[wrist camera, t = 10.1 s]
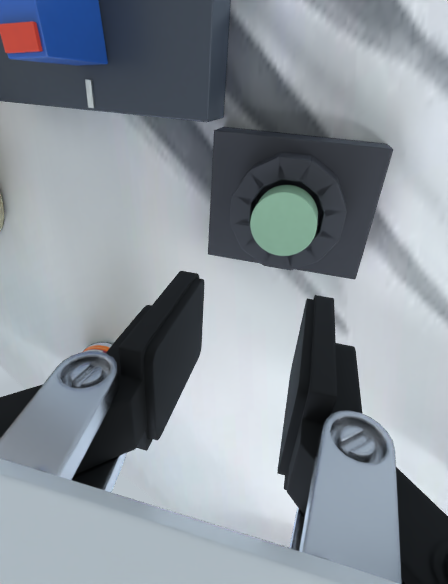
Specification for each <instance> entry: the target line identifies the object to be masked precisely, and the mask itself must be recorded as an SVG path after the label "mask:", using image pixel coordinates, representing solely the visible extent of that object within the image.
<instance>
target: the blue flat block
mask: <svg viewBox="0 0 448 584" xmlns="http://www.w3.org/2000/svg"><path fill="white" fill-rule="evenodd" d="M0 34H1V38H2V42H3V45H4V49H5V53H7V54H8V58H9V59H13V60H23V61H34V62H44V63H55V64H65V65H76V66H79V65H100V64H108V60H107V53H106V47H105V40H104V34H103V27H102V21H101V14H100V8H99V1H98V0H0Z"/></svg>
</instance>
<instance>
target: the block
mask: <svg viewBox="0 0 448 584" xmlns="http://www.w3.org/2000/svg"><path fill="white" fill-rule="evenodd" d="M392 152H393V149H392V148H391V147H390V146H389V145H388V144H384V143H374V142H365V141H355V140H345V139H336V138H326V137H316V136H307V135H297V134H287V133H278V132H268V131H258V130H249V129H239V128H229V127H222V128H220V129H217V130H214V145H213V164H212V184H211V204H210V224H209V244H208V254H209V255H215V256H221V257H227V258H232V259H238V260H244V261H250V262H256V263H261V264H262V265H264V266H269V267H275V268H281V269H287V270H293V269H297V270H303V271H309V272H314V273H320V274H326V275H332V276H338V277H344V278H350V279H356V275H357V272H358V268H359V265H360V262H361V258H362V255H363V251H364V248H365V244H366V241H367V238H368V234H369V231H370V227H371V224H372V220H373V217H374V214H375V210H376V207H377V203H378V200H379V196H380V193H381V190H382V186H383V183H384V179H385V176H386V172H387V169H388V166H389V162H390V159H391V155H392ZM280 185H294V186H297V187H300V188H302V189H304V190H305V191H307V192H308V193H309V194H310V195H311V197H312V198H313V199H314V201H315V203H316V206H317V210H318V221H317V230H316V234H315V236H314V238H313V240H312V242H311V243H310V244H309V245H308V246H307V247H306V248H305V249H304V250H302V251H301V252H299V253H296V254H293V255H289V256H278V255H274V254H271V253H269V252H267V251H265V250H264V249H262V248H261V247H260V246H259V245H258V244H257V242H256V241H255V239H254V237H253V235H252V233H251V227H250V220H251V215H252V212H253V210H254V208H255V207H256V205H257V203H258V202H259V200H260V199H261V197H262V196H263V195H264V194H265V193H266V192H267V191H268V190H270V189H272V188H274V187H276V186H280Z"/></svg>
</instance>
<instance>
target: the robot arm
mask: <svg viewBox="0 0 448 584" xmlns="http://www.w3.org/2000/svg"><path fill="white" fill-rule="evenodd" d="M203 301H204V280H203V279H199V275H198V274H196V273H191V272H185V271H180V272H179V273H178V274H177V275H176V277H175V278H174V279H173V280H172V282H171V283H170V284H169V285H168V286H167V288H166V289H165V290H164V291H163V293H162V294H161V295H160V296H159V298H158V299H157V300H156V301H155V302H154V304H153V305H152V306H151V305H146V306H145V307H144V308H143V309H142V310H141V312H140V313H139V314H138V315H137V316H136V317H135V319H134V320H133V321H132V322H131V323H130V325H129V326H128V327H127V328H126V329H125V330H124V332H123V333H122V334H121V335H120V336H119V338H118V339H117V340H116V341H115V342H114V344H113V345H112V346H111V347H110V348H109V349H108V351H107V352H106V353H103V352H98V351H88V352H82V353H78V354H76V355H73V356H71V357H69V358H67V359H66V360H64V361H63V362H62V363H61V364H60V365H58V366H57V368H56V369H55V370H54V371H53V373H52V374H51V375H50V377H49V378H48V379H47V380H46V382H45V383H44V384H43V385H40V386H36V387H33V388H30V389H26V390H23V391H20V392H17V393H13V394H10V395H7V396H3V397H0V584H448V516H447V515H446V514H445V513H444V512H443V511H442V510H440V509H439V508H438V507H437V506H436V505H435V504H434V503H433V502H432V501H431V500H430V499H429V498H428V497H427V496H426V495H425V494H424V493H423V492H422V491H421V490H420V489H419V488H417V487H416V486H415V485H414V484H413V483H412V482H411V481H410V480H409V479H408V478H407V477H406V476H405V475H404V474H403V473H402V472H401V471H400V470H399V469H398V468H397V467H396V460H395V448H394V444H393V440H392V439H391V437H390V435H389V434H388V432H387V431H386V430H385V429H384V428H383V427H382V426H381V425H380V424H379V423H378V422H376V421H375V420H374V419H372V418H371V417H369V416H366V415H364V414H362V406H361V397H360V388H359V378H358V369H357V360H356V351H355V348H354V347H353V346H348V345H343V344H338V343H335V314H334V299H333V298H328V297H323V296H317V295H315V296H314V300H312V299H307V300H306V304H305V309H304V313H303V318H302V322H301V327H300V332H299V336H298V341H297V345H296V350H295V354H294V359H293V363H292V368H291V374H290V380H289V388H288V395H287V403H286V411H285V418H284V426H283V434H282V441H281V449H280V456H279V464H278V474H282V475H285V482H284V489H285V490H287V493H288V494H289V495H290V497H291V498H292V500H293V501H294V502H295V504H296V505H297V506H298V508H297V512H296V517H295V522H294V527H293V532H292V538H291V543H290V548H287V547H284V546H281V545H278V544H275V543H272V542H268V541H265V540H262V539H259V538H256V537H253V536H249V535H246V534H243V533H240V532H237V531H234V530H230V529H227V528H224V527H221V526H218V525H214V524H211V523H208V522H205V521H202V520H198V519H195V518H192V517H189V516H185V515H182V514H179V513H176V512H173V511H169V510H166V509H163V508H160V507H157V506H153V505H150V504H147V503H144V502H140V501H137V500H134V499H131V498H127V497H124V496H121V495H118V494H114V493H111V492H112V490H113V487H114V485H115V483H116V480H117V478H118V476H119V473H120V471H121V468H122V466H123V463H124V461H125V458H126V454H127V452H129V451H132V450H134V449H136V448H139V449H143V450H148V448H149V446H150V444H151V442H152V440H153V439H154V440H158V439H159V438H160V437H161V435H162V433H163V431H164V428H165V426H166V424H167V422H168V420H169V418H170V416H171V414H172V412H173V410H174V408H175V406H176V404H177V401H178V399H179V397H180V395H181V393H182V391H183V389H184V387H185V385H186V383H187V381H188V379H189V377H190V374H191V372H192V370H193V368H194V366H195V364H196V362H197V360H198V358H199V355H200V352H201V344H202V322H203Z"/></svg>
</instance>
